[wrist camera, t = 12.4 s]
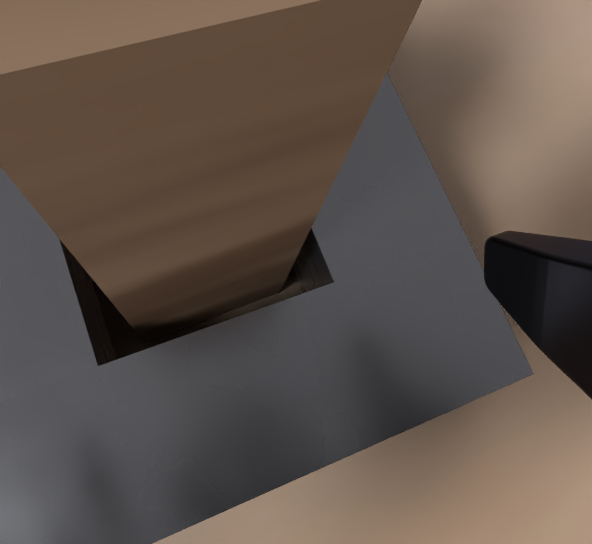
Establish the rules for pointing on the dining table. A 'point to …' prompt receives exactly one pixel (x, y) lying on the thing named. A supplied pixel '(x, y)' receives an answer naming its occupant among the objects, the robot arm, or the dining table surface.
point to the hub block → (242, 360)
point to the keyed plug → (187, 136)
